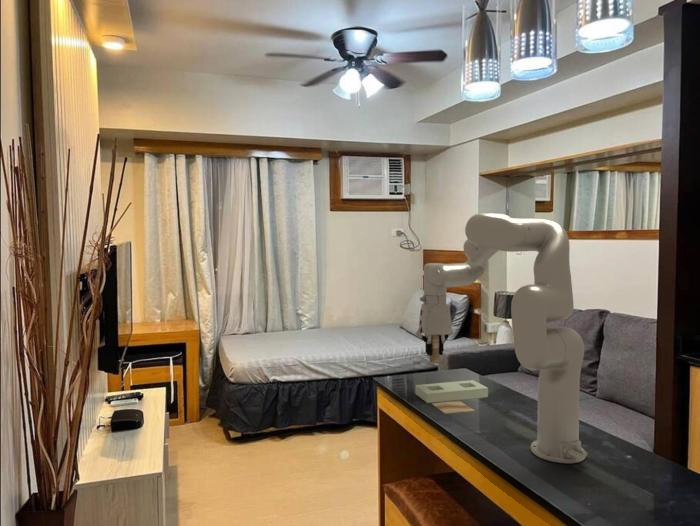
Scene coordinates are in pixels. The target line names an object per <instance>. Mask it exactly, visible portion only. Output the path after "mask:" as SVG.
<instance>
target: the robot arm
mask: <svg viewBox="0 0 700 526" xmlns="http://www.w3.org/2000/svg"><path fill="white" fill-rule="evenodd" d="M464 232H465V235H466V240H465V241H464V243H463V246H462V247H463V252H464V254H465V256H466V257H467V258H468V260H466V261H465V262H460V263H459V262H458V263H457V262H454V263H441V262H431V263H430V262H428V263H425V264H424V265H423V266H424V267H423V295H422V296H420V297H419V302H422V304H421V307H420V311H419V321H418V328H417V330H416V333H415V336H416V337H418V338H419V339H422V341H423V342H424V343H425V345H424V346H425V347H424V348H425V353H426V355H427V356H429V357H430V356H432V344H431V335H439V356H443V353H444V352H445V351H444V344H445V343H446V341H447V339H448V338H449V337H451V336H452V335H454V331H453V328H452V315H451V308H450V305H449V303H447V288H455V287H457V288H458V287H467V286H470V285H472V284H474V283H476V282H477V281H478V280H479V279H480V278H481V277H483V275H485V273H486V271H487V268H488V264H489V259H491V258H492V257H493V256H494V255H495V254H496V253H498V252H499V251H501V252H507V253H508V252H510V253H511V252H512V253H513V252H515V253H516V252H537V253H538V254H537V255H536V257H535V260H534V263H533V277H534V279H533V280H534V281H533V282H534V283H533V284H527V285H523V286H521V287H520V288H518V289H517V290H516V291H515V292H514V295H513V296H512V299H511V305H510V315H511V324H512V335H513V336H512V337H513V345H514V352H515V355H516V359H517V360H518V362H519V363H520V365H521V366H523V368H525V369H527V370H531V371H539V374H538V379H537V380H538V381H537V436H536V437H537V438H536V440H534V441H533V442H531V443H530V450H531V451H530V452H532V453H533V454H534V455H535V456H536V457H538V458H539V459H542V460H545V461H548V462H552V463H559V464H576V463H581V462H583V461H584V460H585V459H586V457H587V456H588V452H587V450H585V449H584V448H583V447H582V441H581V440H580V439H579V438H580V383H581V371H582V367H583V361H584V356H585V344H584V341H583V338H582V336H581V335H580V333H579V332H577V331H576V330H575V329H573V328H571V327H568V326H552V327H547V323H553V322H560V321H565V320H567V319H569V318H570V317H571V316H572V315H573V313H574V312H573V311H574V308H575V307H574V294H573V283H572V274H571V273H572V272H571V265H570V251H571V250H570V239H569V236H568V233H567V231H566V230H565V229H564V227H563V226H562V225H561V224H559V223H557V222H556V221H553V220H551V219H545V218H530V217H529V218H522V217H521V218H516V217H514V218H513V217H511V216H509V215H507V214H505V213H492V212H491V213H490V212H489V213H488V212H480V213H475V214H473V215H472V216H471V217H470V218H469V219H468V220H467V222H466V224H465V229H464Z"/></svg>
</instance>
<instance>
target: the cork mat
mask: <svg viewBox="0 0 700 526" xmlns="http://www.w3.org/2000/svg"><path fill="white" fill-rule="evenodd" d="M431 405H433V406H434V407H435V408H437V409H438V410H439V411H441V412H442V413H443V414H444V415H447V414H448V415H450V414H457V413H467V412H475V411H476V410H474V409H473V408H472V407H470V406H468V405H467V404H465V403H464V402H463V401H462V400H453V401H443V402H433V403H431Z"/></svg>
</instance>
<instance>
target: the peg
mask: <svg viewBox="0 0 700 526" xmlns="http://www.w3.org/2000/svg"><path fill="white" fill-rule="evenodd" d="M431 344H432V356H429V363H430V364H438V363H440V354H439V335H431Z"/></svg>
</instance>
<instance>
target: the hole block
mask: <svg viewBox="0 0 700 526" xmlns="http://www.w3.org/2000/svg"><path fill="white" fill-rule="evenodd" d="M414 389H415V395H416V396H418V397H419V398H420V399H421V400H423V401H424V402H425V403H426V404H432V403H442V402H452V401H462V400H463V401H464V400H469V399H472V400H473V399H480V398H481V399H483V398H488V397H489V387H487V386H485V385H483V384H482V383H480V382H478V381H475V380H474V379H471V380H460V381H458V380H457V381H446V382H436V383H426V384H425V383H424V384H416V385H415V388H414Z"/></svg>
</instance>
